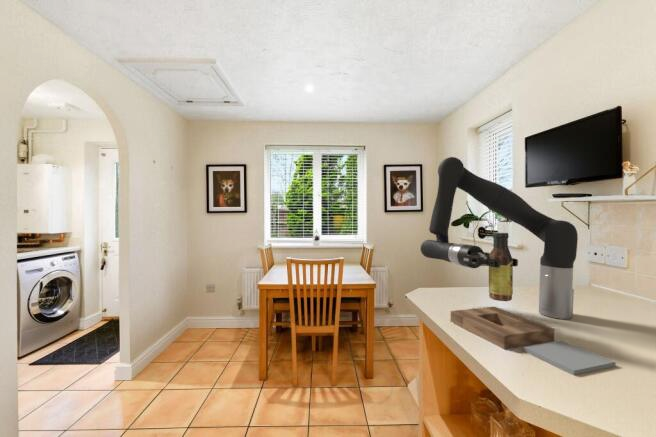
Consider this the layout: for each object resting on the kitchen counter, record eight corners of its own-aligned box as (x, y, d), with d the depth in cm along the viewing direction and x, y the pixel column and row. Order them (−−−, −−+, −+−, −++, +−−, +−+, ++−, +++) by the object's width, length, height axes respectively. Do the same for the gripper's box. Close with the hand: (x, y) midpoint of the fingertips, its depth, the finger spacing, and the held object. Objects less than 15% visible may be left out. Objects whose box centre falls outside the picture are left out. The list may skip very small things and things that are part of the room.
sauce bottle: (516, 302, 86) (517, 233, 85) (492, 301, 87) (493, 233, 87) (507, 296, 92) (508, 232, 92) (485, 295, 94) (486, 231, 93)
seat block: (494, 316, 102) (494, 306, 102) (554, 341, 83) (554, 328, 83) (450, 321, 97) (450, 311, 97) (504, 349, 78) (504, 335, 78)
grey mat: (561, 344, 81) (561, 340, 81) (615, 366, 70) (615, 361, 70) (522, 350, 77) (522, 346, 77) (573, 375, 66) (573, 370, 66)
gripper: (448, 245, 101) (488, 251, 85) (482, 243, 105) (526, 249, 89) (447, 267, 101) (488, 277, 85) (481, 265, 106) (526, 274, 90)
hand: (507, 263), depth 87 cm, fingers closed on sauce bottle, 6 cm apart
